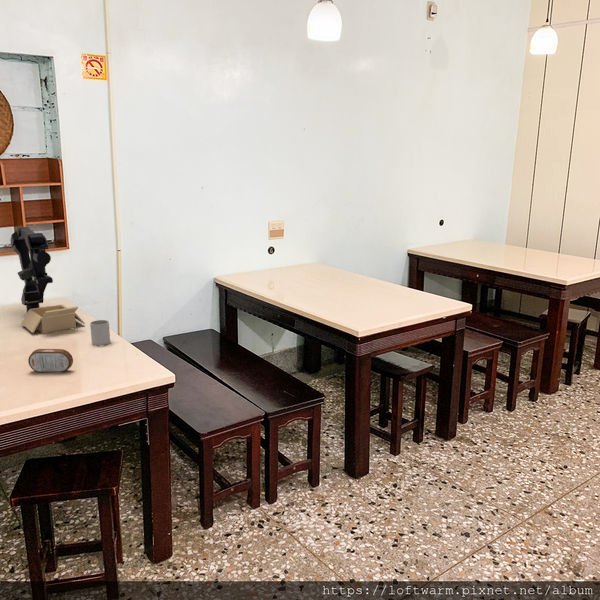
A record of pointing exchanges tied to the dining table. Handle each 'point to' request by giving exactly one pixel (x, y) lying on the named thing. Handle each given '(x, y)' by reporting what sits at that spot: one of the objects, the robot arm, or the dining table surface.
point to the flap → (60, 312)
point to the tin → (50, 360)
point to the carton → (49, 320)
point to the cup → (100, 332)
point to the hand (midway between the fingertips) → (41, 295)
